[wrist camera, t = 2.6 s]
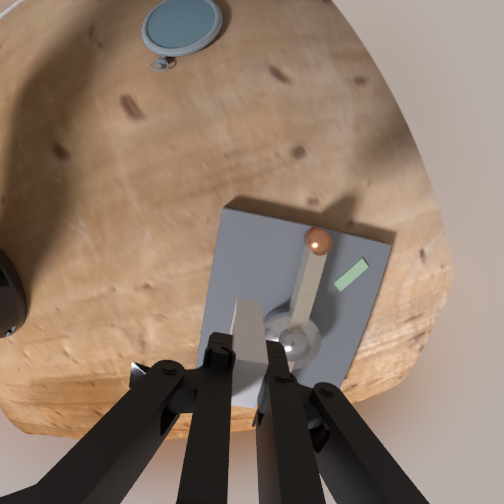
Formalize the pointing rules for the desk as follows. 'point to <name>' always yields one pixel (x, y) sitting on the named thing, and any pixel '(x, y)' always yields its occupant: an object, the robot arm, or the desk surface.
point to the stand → (283, 281)
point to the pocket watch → (180, 27)
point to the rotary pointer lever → (301, 305)
